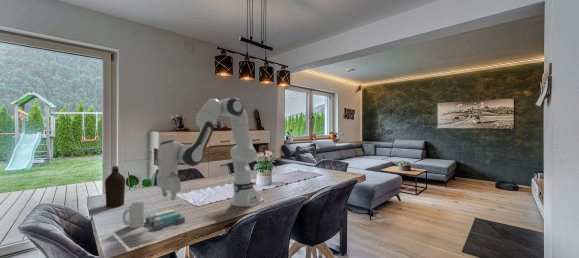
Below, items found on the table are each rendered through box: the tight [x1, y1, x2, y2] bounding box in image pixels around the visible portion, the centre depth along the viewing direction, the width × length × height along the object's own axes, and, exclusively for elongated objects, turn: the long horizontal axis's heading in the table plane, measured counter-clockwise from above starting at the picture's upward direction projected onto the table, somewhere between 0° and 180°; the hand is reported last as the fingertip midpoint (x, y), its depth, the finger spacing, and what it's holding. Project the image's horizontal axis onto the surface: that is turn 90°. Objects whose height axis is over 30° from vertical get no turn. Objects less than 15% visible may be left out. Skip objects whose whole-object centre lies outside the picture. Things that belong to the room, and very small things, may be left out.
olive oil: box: [104, 165, 126, 209], centre depth 156 cm, size 11×11×25 cm
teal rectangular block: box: [154, 212, 182, 227], centre depth 127 cm, size 12×3×4 cm, turn 139°
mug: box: [122, 201, 145, 229], centre depth 123 cm, size 10×7×12 cm, turn 150°
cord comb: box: [145, 216, 186, 231], centre depth 129 cm, size 14×14×4 cm
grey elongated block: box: [148, 209, 176, 223], centre depth 131 cm, size 12×3×4 cm, turn 140°
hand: (168, 198), depth 127 cm, fingers open, 8 cm apart
